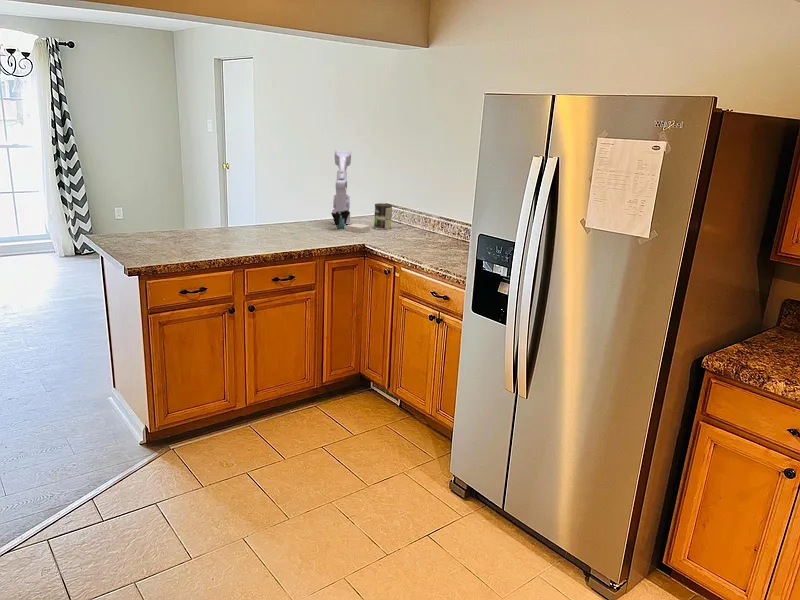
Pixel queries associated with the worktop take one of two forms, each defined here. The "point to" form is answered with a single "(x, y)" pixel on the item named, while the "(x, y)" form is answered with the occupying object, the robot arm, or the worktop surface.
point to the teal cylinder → (341, 224)
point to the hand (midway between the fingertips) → (340, 224)
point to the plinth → (357, 228)
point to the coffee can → (382, 216)
